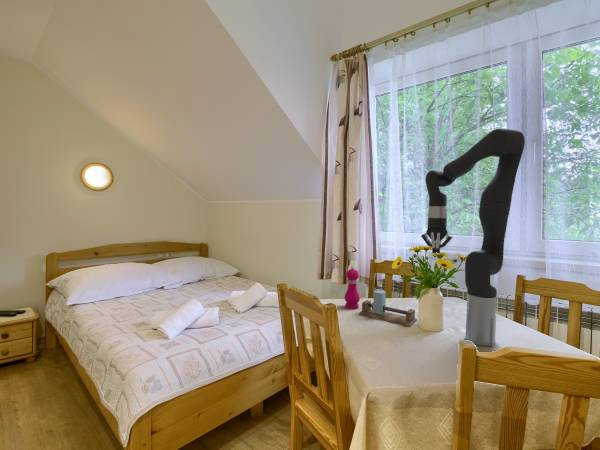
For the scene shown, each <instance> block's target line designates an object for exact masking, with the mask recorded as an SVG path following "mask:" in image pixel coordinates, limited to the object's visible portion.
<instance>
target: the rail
mask: <svg viewBox="0 0 600 450" xmlns="http://www.w3.org/2000/svg"><path fill="white" fill-rule="evenodd" d="M383 310H385V313H383V314H382V315H380V314H376V313H373V302H372V300H369V299H366V300H365V301H363V302H362V303H361V311H359V314H358V315H359V316H363V317H367V318H373V319H376V320H380V321H385V322H388V323H394V324H398V325H402V326H406V327H412V326H413V325H414V324H416V322H418V319H417V318H416V316H415V315H416V310H415V309H412V308H409V309H408V310H404V309H399V308H394V307H389V306H383Z"/></svg>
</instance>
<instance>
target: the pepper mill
mask: <svg viewBox="0 0 600 450" xmlns="http://www.w3.org/2000/svg"><path fill="white" fill-rule="evenodd" d="M345 275H346V278H347V280H346V282H347V289H346V292H345V294H344V301H345V305H344V306H345V308H346V309H347V308H348V310H358V309H359V302H360V300H361V296H360V294H359V292H358V291H359V290H358V289H357V284H358V283H359V282H358V278H359V277H360V274H359V271H358V270H357V269H355V266H350V269H348V270H346V274H345ZM357 308H358V309H357Z"/></svg>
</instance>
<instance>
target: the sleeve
mask: <svg viewBox="0 0 600 450" xmlns="http://www.w3.org/2000/svg"><path fill="white" fill-rule="evenodd" d="M386 297H387V291H385V290H379V289H377V290H375V291H373V302H372V303H373V313H376V314H380V315H382V314H383V313H385V312H386V310H383V306H386V305H387V304H386V302H387V298H386ZM386 307H387V306H386Z"/></svg>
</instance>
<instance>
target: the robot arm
mask: <svg viewBox="0 0 600 450" xmlns="http://www.w3.org/2000/svg"><path fill="white" fill-rule="evenodd" d="M525 143H526V141H525V136H524V134H523V132H521V131H520V130H517V129H511V128H495V129H493V130H491V131H489V132H488V133H486V134H485V135H484V136H483V137H482V138H481V139H480V140H478V141H477V142H476V143H475V144H474V145H472V146H471V147H469V149H467V151H465V152H464V153H462V154H461V155H459V156H458V157H456V158H454V159H453V160H451V161H450V162H448V163H447V164H446V165H444V167H443V169H431V170H428V171H427V174H426V176H425V186H426V190H427V193H428V198H429V199H428V210H427V229H426V231H425V233H424V234H421V235H420V236H421V238H422V239H423V241H424V242H425V244H426V245H427V246H428V247H430V248H432V250H431V252H432V253H436V252H437V253H440V254H441V249H442V248H445V246H446V245H448V243H450V241H451V240H452V239H453V235H450V234H449V233H448V229H447V225H448V224H447V223H448V221H447V220H448V207H447V206H448V205H447V201H448V195H447V193H446V192H443V191H441V189H440V188H441V187H442V188H445V187H448V186H450V185H452V184H453V182H455V181H456V180H457V179H458V178H461V177H462V176H464V175H466V174H468V173H470V172H471V171H472V170H473V169H474V167H475V166H476V164H477V163H478V162H480V161H482V160H484V159H487V158H490V157H497V158H498V164H497V169H496V171H495V173H494V175H493V176H492V178H491V180H490V181H489V183H488V184H487V185H486V186H485V189H483V191H482V193H481V196H480V201H479V207H478V218H479V221H480V225H481V228H482V232H483V239H482V240H483V241H482V245H481V248H480V250H473V251H470V252H469V253H468V254H467V255H466V259H465V264H464V281H465V282H464V283H465V286H466V289H467V291H466V293H467V294H466V315H465V336H464V337H465V340H466V341H467V340H470V341H472V342H473V343H474V344H473V343H472V344H473V345H477V346H482V347H494V345H495V342H496V333H497V315H496V312H497V293H498V291H497V288H496V287H494V286H493V285H492V284H491V276H494V275H497V274H498V273H500V271H501V270H502V268H503V265H504V252H505V250H504V249H505V238H506V232H507V227H508V222H509V221H508V220H509V215H510V211H511V205H512V200H513V199H512V198H513V192H514V187H515V183H516V178H517V177H516V176H517V173H518V170H519V166H520V163H521V159H522V157H523V153H524V149H525ZM444 238H445V240H444ZM443 240H444V241H443ZM442 241H443V243H442ZM432 253H431V254H432ZM433 257H434V258H437V257H436V256H434V255H433Z"/></svg>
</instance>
